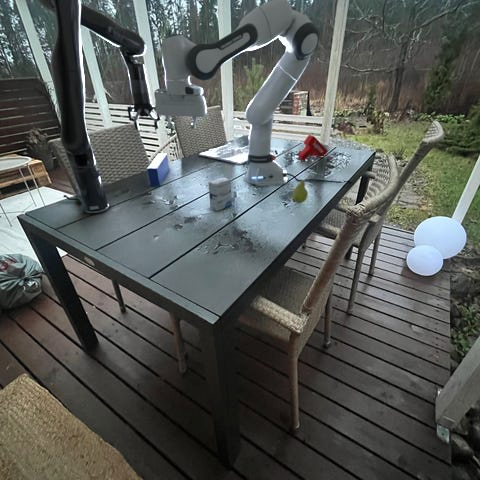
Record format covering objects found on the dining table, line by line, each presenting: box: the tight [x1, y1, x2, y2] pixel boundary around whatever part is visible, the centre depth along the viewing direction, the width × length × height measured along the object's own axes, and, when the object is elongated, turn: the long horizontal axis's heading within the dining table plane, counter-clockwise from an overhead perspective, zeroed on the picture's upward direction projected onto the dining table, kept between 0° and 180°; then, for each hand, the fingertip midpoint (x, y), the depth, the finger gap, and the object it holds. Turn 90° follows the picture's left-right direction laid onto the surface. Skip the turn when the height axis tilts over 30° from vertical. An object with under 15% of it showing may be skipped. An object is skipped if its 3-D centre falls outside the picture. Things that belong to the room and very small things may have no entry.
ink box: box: [207, 177, 232, 212], centre depth 115 cm, size 8×5×12 cm, turn 134°
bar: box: [146, 153, 170, 187], centre depth 148 cm, size 27×5×9 cm, turn 3°
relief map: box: [198, 141, 249, 165], centre depth 185 cm, size 27×35×5 cm
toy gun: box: [297, 134, 328, 162], centre depth 175 cm, size 18×4×15 cm
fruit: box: [291, 174, 311, 204], centre depth 118 cm, size 7×8×12 cm
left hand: (147, 130), depth 128 cm, fingers open, 8 cm apart
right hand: (182, 128), depth 108 cm, fingers open, 8 cm apart
